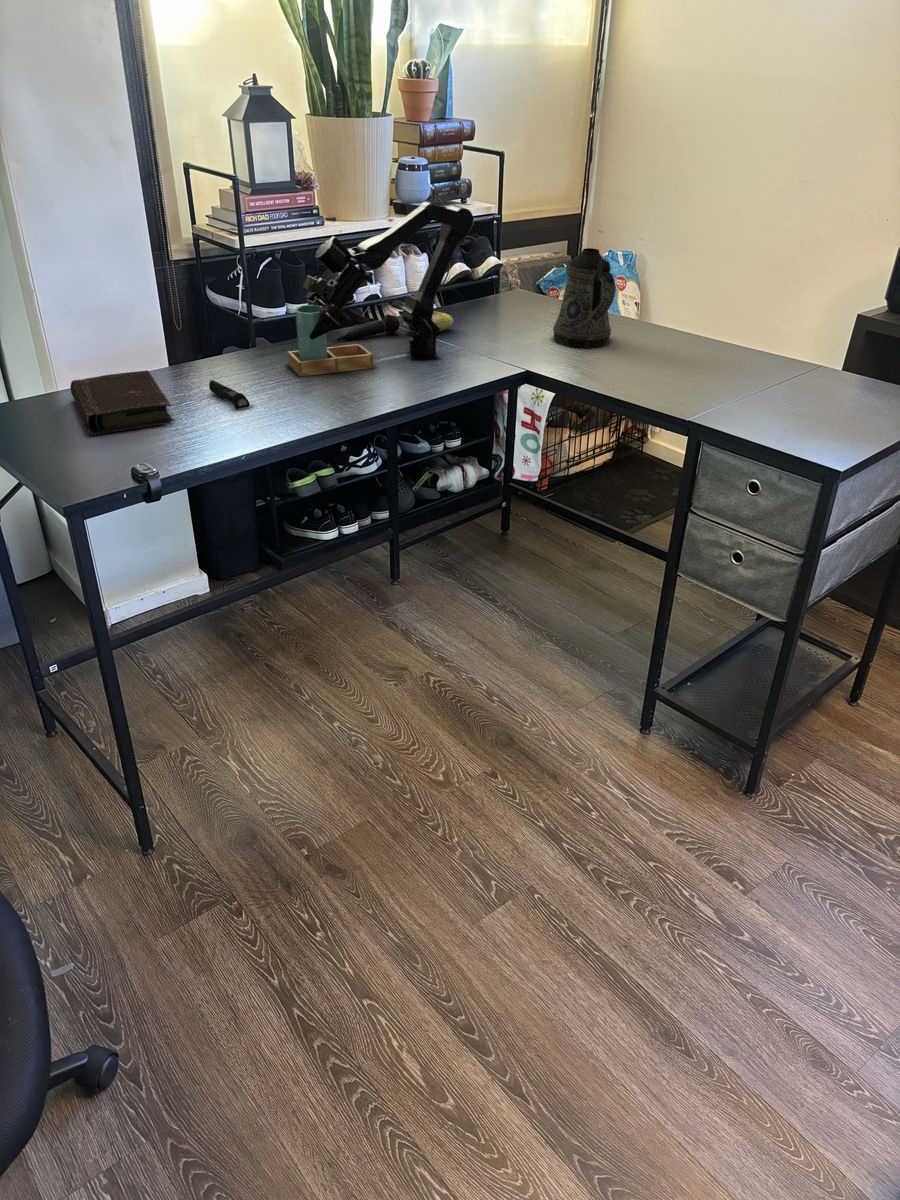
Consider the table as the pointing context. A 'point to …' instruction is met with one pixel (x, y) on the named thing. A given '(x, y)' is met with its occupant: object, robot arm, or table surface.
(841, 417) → the table surface
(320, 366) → the divided wooden tray
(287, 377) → the table surface
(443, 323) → the plant cell model
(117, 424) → the diary
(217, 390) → the electric trimmer
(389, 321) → the microphone
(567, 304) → the beer stein
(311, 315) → the tumbler
